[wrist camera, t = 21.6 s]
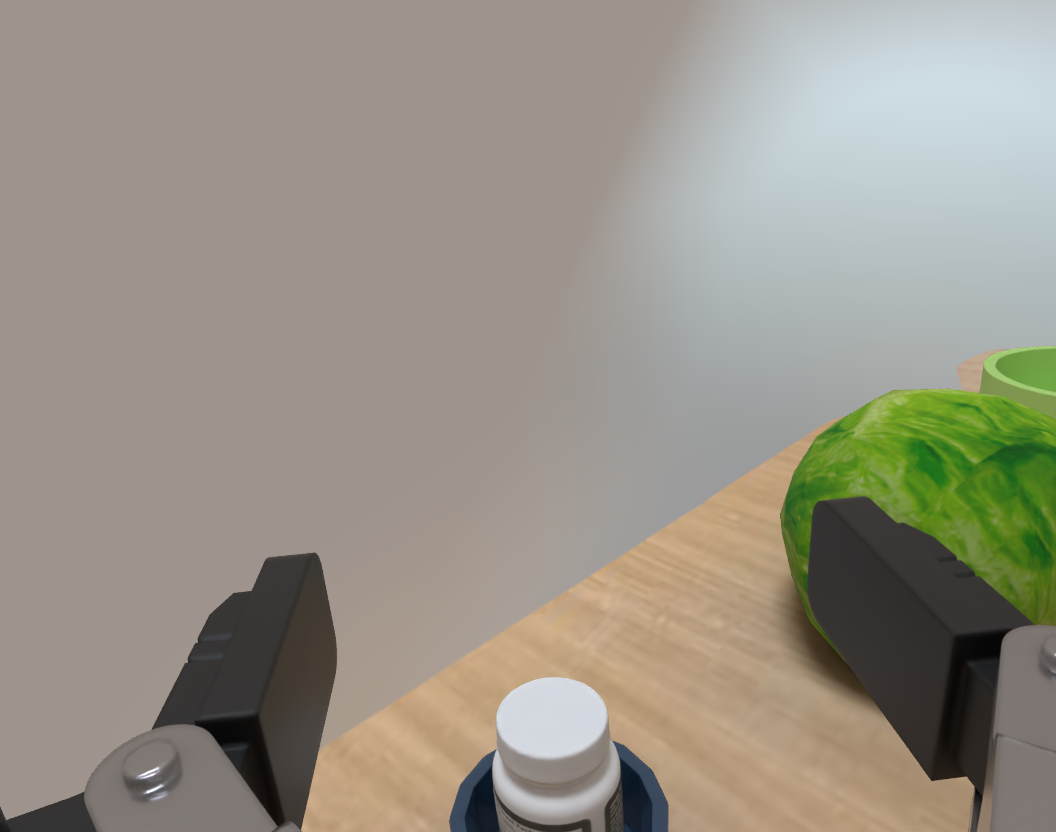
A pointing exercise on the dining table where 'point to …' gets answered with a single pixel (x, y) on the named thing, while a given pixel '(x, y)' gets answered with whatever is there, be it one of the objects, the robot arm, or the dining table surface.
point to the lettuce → (943, 486)
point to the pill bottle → (556, 760)
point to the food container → (1023, 377)
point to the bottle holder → (640, 798)
